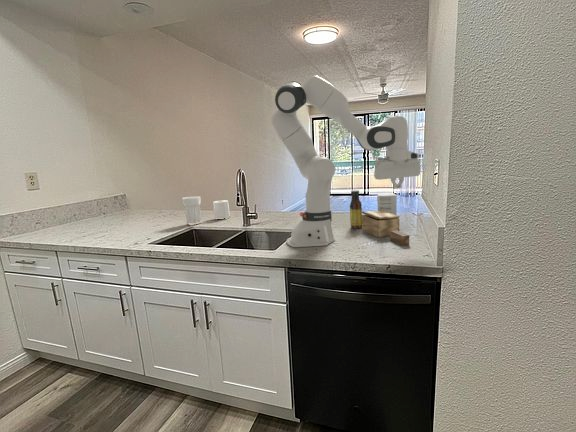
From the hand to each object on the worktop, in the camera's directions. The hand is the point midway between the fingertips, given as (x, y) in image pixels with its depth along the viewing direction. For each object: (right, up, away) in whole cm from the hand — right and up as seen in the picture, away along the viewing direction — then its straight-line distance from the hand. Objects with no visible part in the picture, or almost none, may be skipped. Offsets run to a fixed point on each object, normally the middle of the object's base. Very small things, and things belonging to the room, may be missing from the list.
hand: (397, 188), depth 141 cm
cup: (-108, -17, +70) cm, 130 cm away
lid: (-2, -12, +19) cm, 23 cm away
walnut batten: (+2, -24, +2) cm, 24 cm away
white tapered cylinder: (-92, -14, +84) cm, 125 cm away
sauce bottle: (-11, -18, +34) cm, 40 cm away
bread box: (-2, -20, +21) cm, 29 cm away
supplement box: (+6, -17, +34) cm, 39 cm away
